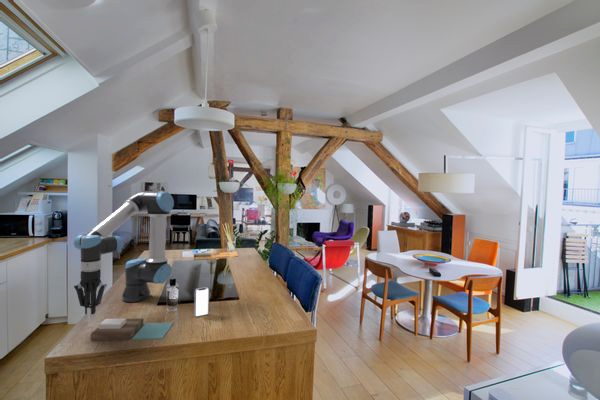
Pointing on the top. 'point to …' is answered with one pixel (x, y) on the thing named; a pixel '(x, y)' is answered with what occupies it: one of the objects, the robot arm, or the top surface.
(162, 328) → the mat
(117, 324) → the white slab
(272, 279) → the top surface
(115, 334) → the brown wooden flat block
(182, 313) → the top surface
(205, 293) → the mobile phone
